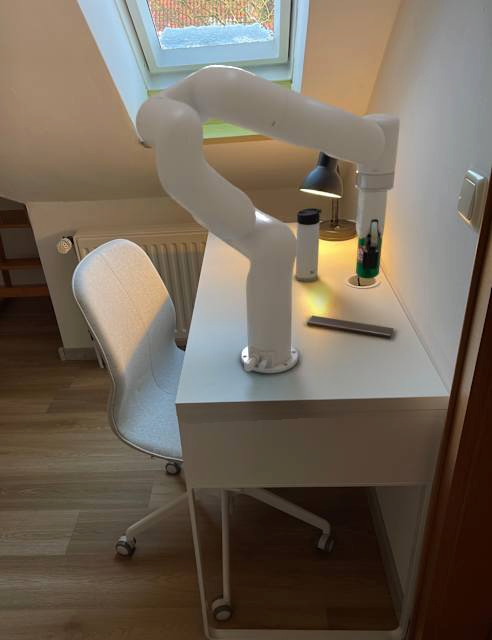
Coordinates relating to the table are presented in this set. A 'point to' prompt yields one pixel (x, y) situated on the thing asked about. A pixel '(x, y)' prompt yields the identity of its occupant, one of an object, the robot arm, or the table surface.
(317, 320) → the ruler
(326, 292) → the table surface
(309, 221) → the travel mug
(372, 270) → the soda can
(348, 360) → the table surface
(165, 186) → the robot arm
